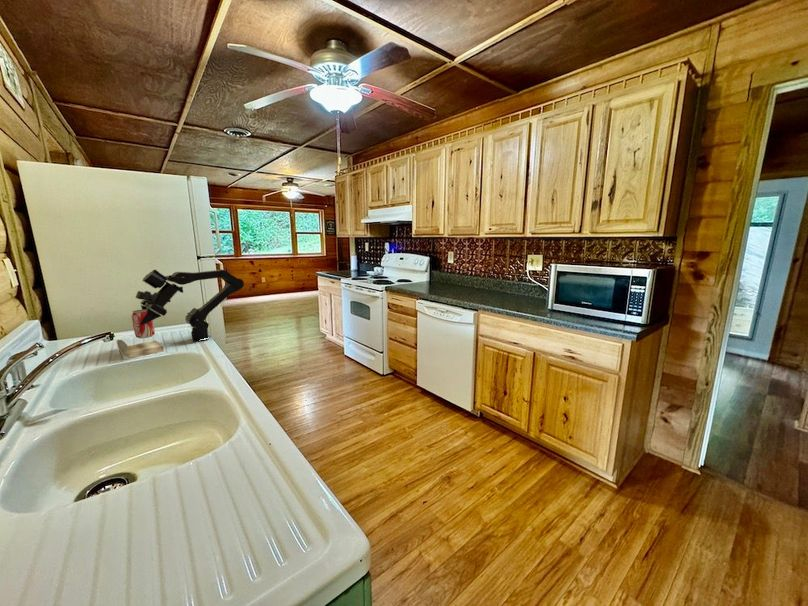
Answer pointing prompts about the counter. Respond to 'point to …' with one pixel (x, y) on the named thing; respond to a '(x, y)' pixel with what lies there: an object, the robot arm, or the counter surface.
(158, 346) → the cleat stand
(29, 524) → the counter surface
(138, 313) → the soda can
